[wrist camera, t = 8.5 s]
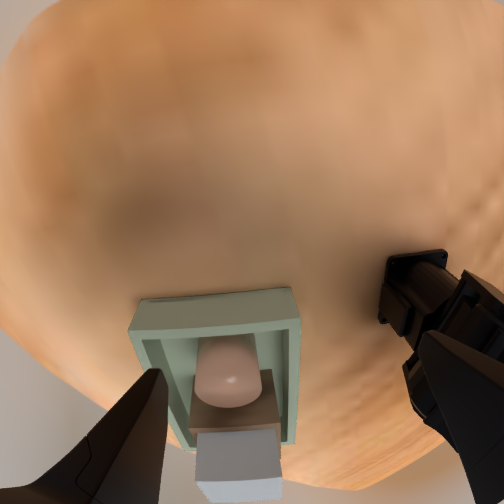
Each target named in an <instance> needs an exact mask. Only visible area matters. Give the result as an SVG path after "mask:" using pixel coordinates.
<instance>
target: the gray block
mask: <svg viewBox="0 0 504 504" xmlns="http://www.w3.org/2000/svg"><path fill="white" fill-rule="evenodd" d="M195 482H196V483H197V485H198V486H199V487H200V489H201V490H202V492H203V493H204V494H205V496H206V497H207V498H208V500H209V501H210V502H211V503H234V502H253V501H265V500H275V499H281V498H282V471H281V464H280V458H279V451H278V444H277V438H276V431H275V428H271V429H262V430H251V431H237V432H217V433H198V434H197V451H196V470H195Z"/></svg>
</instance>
